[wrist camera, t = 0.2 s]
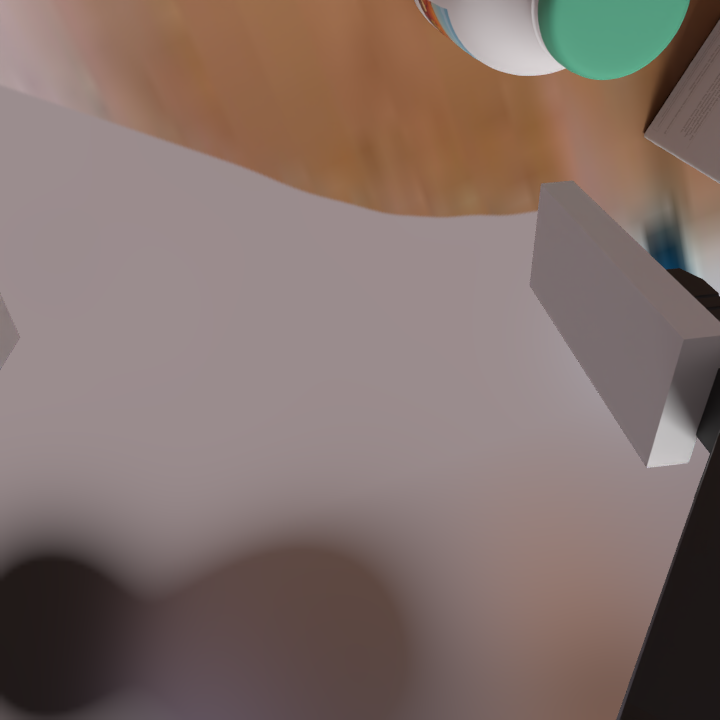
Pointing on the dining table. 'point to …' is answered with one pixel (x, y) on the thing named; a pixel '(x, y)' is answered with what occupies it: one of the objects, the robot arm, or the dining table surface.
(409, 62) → the dining table surface
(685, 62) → the dining table surface
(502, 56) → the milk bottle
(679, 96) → the supplement box
